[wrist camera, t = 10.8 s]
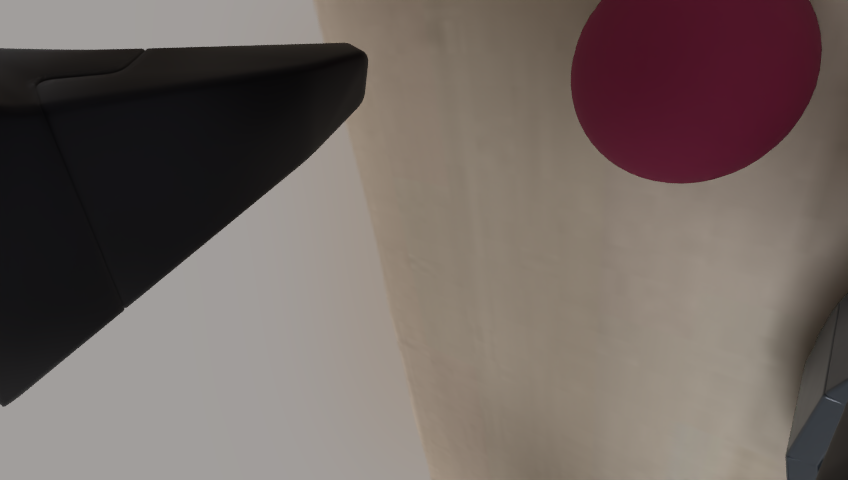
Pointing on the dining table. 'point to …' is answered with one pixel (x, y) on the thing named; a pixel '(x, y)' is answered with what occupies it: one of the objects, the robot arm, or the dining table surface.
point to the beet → (693, 82)
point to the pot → (820, 397)
